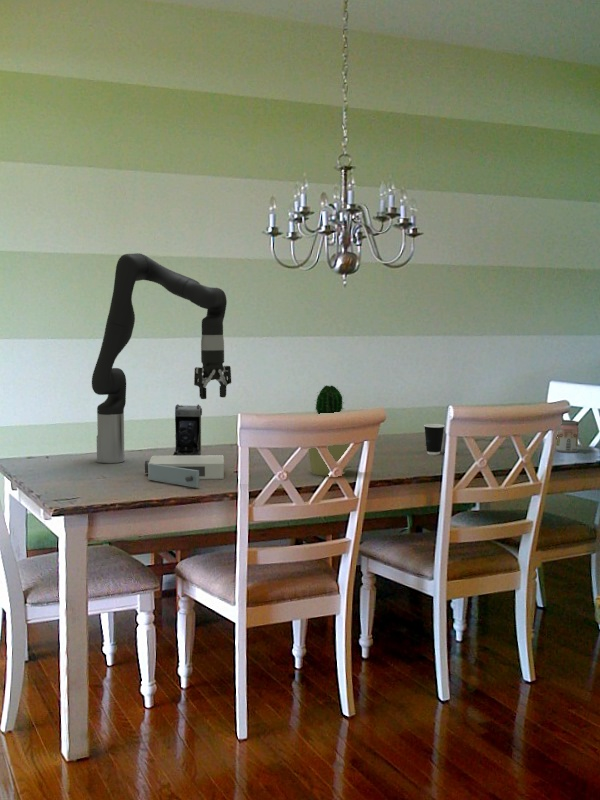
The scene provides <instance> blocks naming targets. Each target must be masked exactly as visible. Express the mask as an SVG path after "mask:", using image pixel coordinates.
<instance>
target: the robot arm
mask: <svg viewBox="0 0 600 800" xmlns="http://www.w3.org/2000/svg"><path fill="white" fill-rule="evenodd" d="M138 281H139V282H140V281H146V282H151V283H156V284H158V285H160V286H161V287H163V288H164V289H165V290H166V291H168V292H169V293H170V294H173V295H175V296H177V297H179V298H182V299H183V300H184V299H185V300H186V301H189V302H191V303H193V304H194V305H196V306H198V307H200V308H202V309H205V310H207V311H206V316H205V317H203V318H202V319H201V337H200V338H201V339H200V352H201V353H200V354H201V355H200V356H201V357H200V358H201V360H200V361H201V364H202V367H201V366H200V367H198V366H197V367H194V375H193V377H194V378H193V379H194V380H193V384H194V386H196V387H198V389H199V398H200V399H201V400H206V399H207V385H208V384H209V383H210V382H211V381H214V380H216V382H218V383H219V397H220V398H226V397H227V386H228V385H231V383H232V368H231V366H230V365H224V363H225V340H224V320H225V319H224V318H225V315H226V310H227V305H228V304H227V303H228V301H227V295H226V292H225V291H224V290H223V289H222V288H220V287H210V286H206V285H203V284H201V283H200V282H199V281H197V280H196V279H193V278H191V277H188V276H186V275H183V274H181V273H178V272H175V271H174V270H171V269H169V268H167V267H165V266H163V265H161V264H160V263H158V262H156V261H155V260H153V259H152V258H150V257H148V256H147V255H145V254H143V253H141V252H140V253H139V252H136V253H125V254H122V255H121V256H120V257H119V258H118V260H117V262H116V266H115V273H114V283H113V289H112V290H113V292H112V296H111V301H110V305H109V306H110V307H109V311H108V315H107V319H106V322H105V328H104V334H103V338H102V343H101V346H100V351H99V353H98V357H97V361H96V363H95V366H94V370H93V371H92V376H91V388H92V390H93V393H95V395H98V396H104V395H105V396H107V397H106V399H105V400H104V401H103V402H101V403H100V404H99V405H98V406H97V408H96V413H97V414H96V415H97V417H96V418H97V419H96V420H97V421H96V422H97V424H96V426H97V435H96V463H101V464H116V463H123V462H125V420H124V419H125V415H124V413H125V411H124V410H125V407H126V399H127V396H126V395H127V378H126V374H125V372H124V370H122V369H121V368H118V367H114V363H115V361H116V360H117V357H118V356H119V354H120V353H121V352H122V351H123V350H124V349H125V347H126V346H127V344H128V343H129V342H130V340H131V338H132V335H133V331H134V328H135V322H136V315H135V309H134V306H133V298H132V297H133V296H132V295H133V291H134V287H135V283H136V282H138Z"/></svg>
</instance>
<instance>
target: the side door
mask: <svg viewBox="0 0 600 800" xmlns="http://www.w3.org/2000/svg"><path fill="white" fill-rule="evenodd" d="M148 481H157V482H161V483H168V484H174V485H180V486H186V487H187V486H188V487H190V488H191V487H193V488H199V487H200V479H199V470H192V469H185V468H179V467H172V466H165V465H158V464H153V463H149V480H148Z"/></svg>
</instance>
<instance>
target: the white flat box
mask: <svg viewBox="0 0 600 800" xmlns="http://www.w3.org/2000/svg"><path fill="white" fill-rule="evenodd" d="M224 460H225V456H224V455H223V454H221V455H220V454H218V455H217V454H215V455H214V454H213V455H212V454H211V455H209V454H207V455H206V454H205V455H203V454H201V455H185V456H176V455H152V456H151V458H150V460H145V461H144V473H145V474H147V475H148V476H147V480H148V481H150V480H149V463H153V464H158V465H165V466H172V467H179V468H185V469H192V470H199V480H224V479H225V477H224V476H225V475H224V473H225V467H224V466H225V465H224Z"/></svg>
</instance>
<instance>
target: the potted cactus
mask: <svg viewBox="0 0 600 800" xmlns="http://www.w3.org/2000/svg"><path fill="white" fill-rule="evenodd" d="M318 393H319V394H317V395H316V397H317V398H316V401H315V402H316V403H315V411H316V413H315V414H317V415H318V414H320V413H334V412H340V413H341V412H343V410H345V408H344V407H343V404H345V402H343V394H342V393H341V392H340V390H339V389H338V388H337V387H336V386H335V385H333V384H332V385H331V384H330V385H323V387H322V388H321V390H319V392H318ZM348 447H349V448H350V445H349V444H345V445H333V446H328V450H329V452H330V453H331V454H332V456H333V458H334V459H335V461H338V460H339V459H340V458H341V456H342V455H343V454H344V452H345V451H346V450H347V448H348ZM308 454H309V456H308V457H309V461H310V462H309V463H310V471H311V474H313V475H317V476H323V477H328V476H327V475H328V473H329V469H328V467H327V465H326V464H325V462H324V461H323V459H322V458H321V456H320V454H319V453H318V450H317V449H316V448H311V449H308ZM346 468H347V466H346V467H345V468H344V469H343V472H345V473H346V470H347V469H346Z"/></svg>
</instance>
